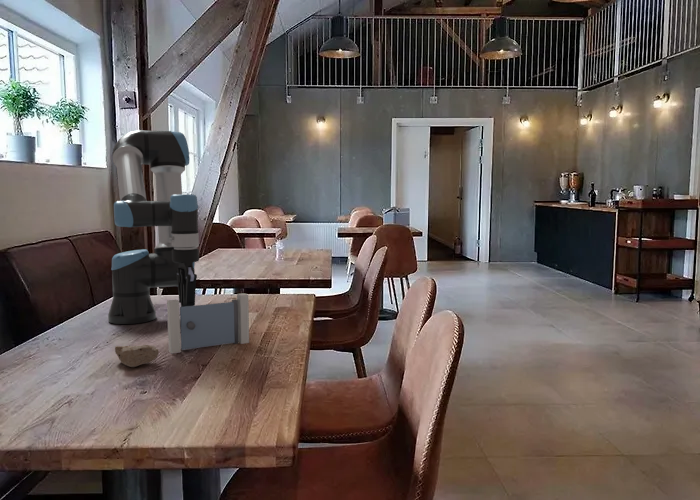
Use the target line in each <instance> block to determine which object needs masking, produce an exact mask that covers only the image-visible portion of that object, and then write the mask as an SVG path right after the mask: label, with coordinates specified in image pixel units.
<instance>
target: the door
mask: <svg viewBox="0 0 700 500" xmlns="http://www.w3.org/2000/svg"><path fill="white" fill-rule="evenodd" d="M179 314H180V347H181V350H183V351H184V350H192V349H197V348H198V349H199V348H205V347H212V346H213V347H214V346H219V345H226V344H227V345H228V344H233V345H237V344H240V343H239V341H238V300H237V298H235V299H231V301H229V302H228V301H227V302H217V303H209V304H197V305H196V304H195V306H186V307H181V306H179Z"/></svg>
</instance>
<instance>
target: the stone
mask: <svg viewBox="0 0 700 500" xmlns="http://www.w3.org/2000/svg"><path fill="white" fill-rule="evenodd" d="M114 352H115V354H116V356H117V357H118V360H119V361H120V362H121V364H123V365H124V366H126V367H131V368H135V367H138V366H141V365H142V366H143V365H144V364H149V363H150V362H153V361H154V360H156V358H158V355H159V353H160V351H159V349H158V348H157V347H156V346H155V345H149V344H143V345H121V346H118V345H116V346H114Z"/></svg>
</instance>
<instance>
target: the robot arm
mask: <svg viewBox="0 0 700 500" xmlns="http://www.w3.org/2000/svg"><path fill="white" fill-rule="evenodd" d="M111 156H112V162H113V164H114V166H115V167H116V172H117V174H116V175H117V184H118V194H119V195H118V196H119V200H117V201H114V203H113V216H114V225H115V226H116V227H120V228H122V227H123V228H139V227H142V228H143V227H157V233H158V243H157V244H156V246H155V247H154V253H153V252H152V253H149V251H148V249H144V248H142V249H134V250H128V251H123V252H122V251H121V252H119V253H116V254H114V255H113V256H112V258H111V269H110V270H111V276H112V277H111V278H112V300H111V303H110V307H109V311H108V313H107V319H108V322H109V323H111V324H116V325H133V324H141V323H146V322H151V321H153V320H156V319H157V314H156V313H157V312H156V309H155V306H154V303H153V301H152V298H151V295H150V294H151V293H150V292H151V290H150V289H151V288H166V287H168V288H169V287H177V292H178V293H177V294H178V301H179V304H180V307H186V306H196V285H197V278H198V275H197V274H196V272H195V271H196V270H195V265H196V264H195V263H197V262H199V260H200V249H199V248H198V247H199V246H200V237H199V236H200V235H199V234H200V233H199V219H198V218H199V211H198V210H199V204H198V197H197V196H196V194H186V193H185V194H183V189H182V188H183V187H182V185H183V184H182V174H183V173H184V172H185V171H186V166H188V165H189V164H190V150H189V145H188V140H187V138H186V136H185V134H184V133H183V132H180V131H172V130H143V129H137V130H133V131H129V132H127V133H125V134H124V135H123V136H121V137H120V138H119V139H118V140H117V141H116V143H115V144H114V146H113V148H112V155H111ZM142 165H145V166H147V165H149V167H150V168H149V169H150V171H151V172H152V173H153V174H154V175H155V190H156V193H155V194H156V200H147V193H146V188H145V183H144V182H145V181H144V173H143V168H142Z"/></svg>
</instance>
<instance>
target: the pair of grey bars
mask: <svg viewBox="0 0 700 500" xmlns="http://www.w3.org/2000/svg"><path fill="white" fill-rule="evenodd" d="M236 299H237V300H238V341H239V343H238V344H241V345H242V344H243V345H244V344H249V343H250V322H249V321H250V320H249V319H250V318H249V316H250V315H249V311H250V310H249V309H250V307H249V294H248V293H243V292H242V293H236ZM166 307H167V308H166V312H167V313H166V315H167V339H168V340H167V342H168V352H169V354H171V355H172V354H177V353H181V352H182V351H181V350H182V349H181V324H180V303H179V299H169V300H166Z"/></svg>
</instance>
